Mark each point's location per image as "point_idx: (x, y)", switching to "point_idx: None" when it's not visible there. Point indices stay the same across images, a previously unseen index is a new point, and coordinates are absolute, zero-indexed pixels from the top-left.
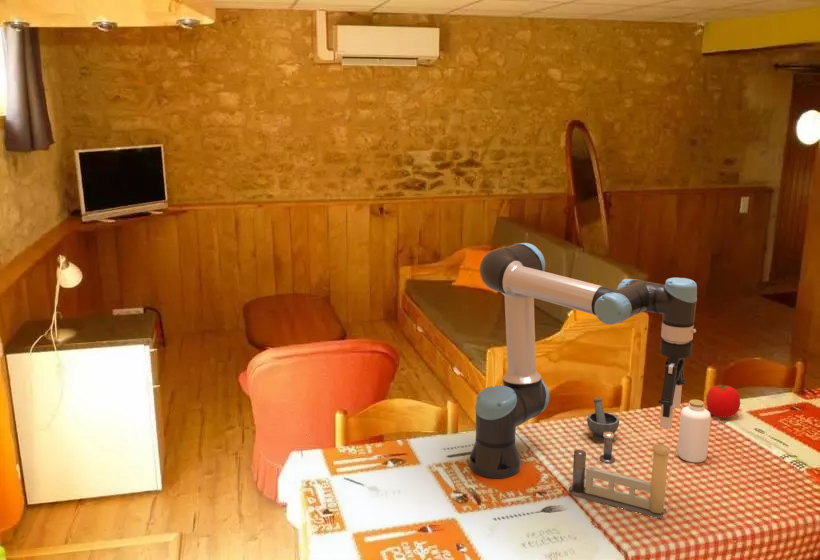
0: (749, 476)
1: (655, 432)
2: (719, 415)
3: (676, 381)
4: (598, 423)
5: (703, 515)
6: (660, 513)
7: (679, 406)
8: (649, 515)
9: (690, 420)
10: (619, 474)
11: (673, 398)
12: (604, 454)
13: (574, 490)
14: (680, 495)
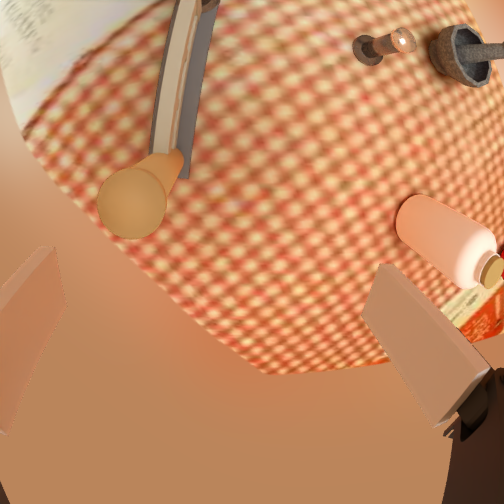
0: (363, 305)
1: (475, 158)
2: (502, 256)
3: (479, 411)
4: (452, 38)
5: (200, 247)
6: None
7: (367, 323)
8: (149, 149)
9: (456, 248)
10: (180, 63)
11: (403, 319)
12: (369, 41)
13: None
14: (264, 201)
